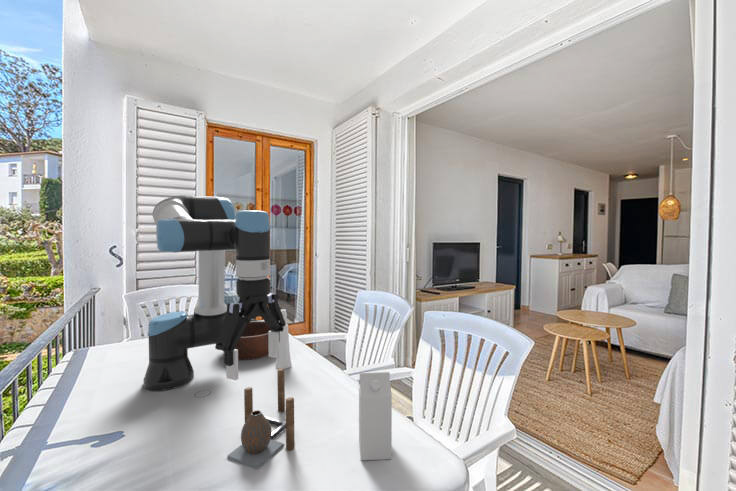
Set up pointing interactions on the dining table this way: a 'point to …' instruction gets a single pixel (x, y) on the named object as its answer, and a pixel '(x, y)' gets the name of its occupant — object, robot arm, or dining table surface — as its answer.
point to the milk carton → (375, 416)
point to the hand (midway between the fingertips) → (254, 367)
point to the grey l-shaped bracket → (278, 423)
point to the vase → (256, 433)
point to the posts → (281, 407)
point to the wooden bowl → (253, 341)
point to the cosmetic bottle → (284, 346)
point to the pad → (255, 459)
